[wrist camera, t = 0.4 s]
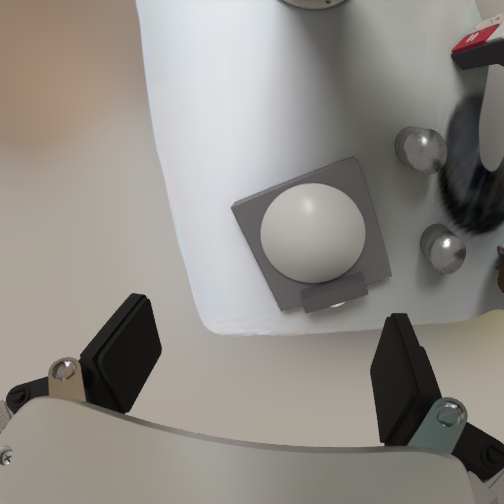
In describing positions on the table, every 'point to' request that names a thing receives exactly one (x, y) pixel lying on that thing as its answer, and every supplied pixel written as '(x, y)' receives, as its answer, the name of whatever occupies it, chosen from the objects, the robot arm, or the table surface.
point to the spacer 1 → (421, 149)
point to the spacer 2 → (442, 248)
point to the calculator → (482, 45)
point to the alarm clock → (501, 272)
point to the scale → (315, 237)
